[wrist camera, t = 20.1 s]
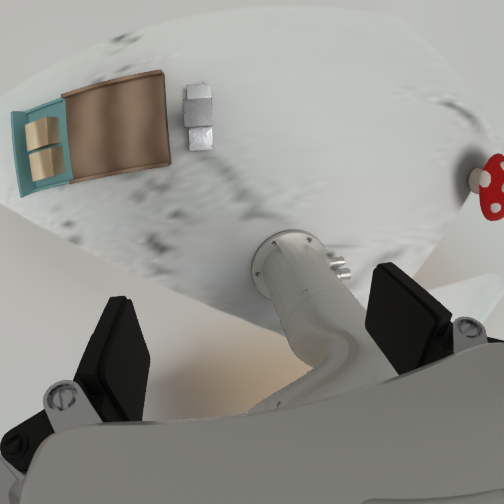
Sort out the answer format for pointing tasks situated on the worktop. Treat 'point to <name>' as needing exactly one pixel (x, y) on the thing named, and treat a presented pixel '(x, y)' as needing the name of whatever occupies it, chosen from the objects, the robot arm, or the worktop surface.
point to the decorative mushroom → (490, 187)
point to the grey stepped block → (199, 116)
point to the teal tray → (22, 155)
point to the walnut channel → (118, 126)
